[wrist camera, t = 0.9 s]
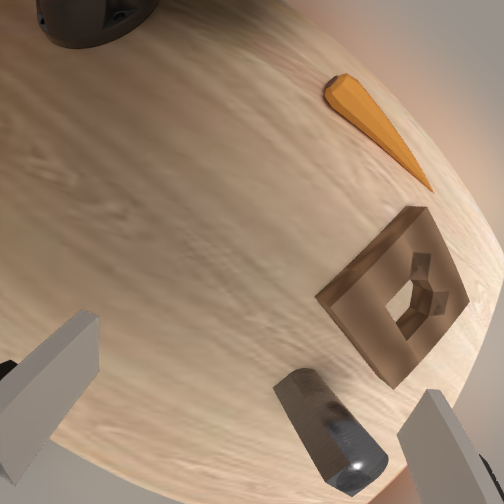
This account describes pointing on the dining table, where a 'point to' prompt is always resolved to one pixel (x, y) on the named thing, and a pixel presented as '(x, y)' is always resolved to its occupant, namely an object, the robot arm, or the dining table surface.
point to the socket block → (386, 287)
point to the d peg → (330, 433)
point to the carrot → (370, 120)
